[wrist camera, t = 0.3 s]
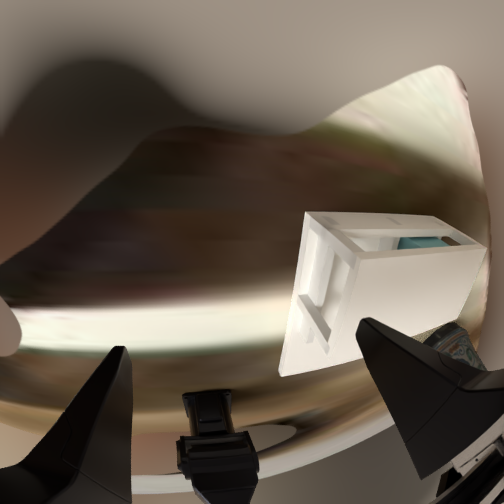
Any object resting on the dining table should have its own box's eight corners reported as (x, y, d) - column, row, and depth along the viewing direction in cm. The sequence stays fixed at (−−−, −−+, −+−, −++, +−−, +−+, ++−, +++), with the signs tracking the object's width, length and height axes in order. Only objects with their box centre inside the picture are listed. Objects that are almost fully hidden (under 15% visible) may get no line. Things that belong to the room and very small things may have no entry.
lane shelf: (386, 344, 37) (416, 384, 29) (278, 369, 33) (301, 426, 25) (433, 216, 28) (487, 248, 20) (305, 211, 23) (361, 259, 16)
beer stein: (455, 343, 48) (512, 410, 26) (394, 394, 49) (444, 472, 28) (460, 305, 40) (537, 386, 18) (385, 369, 41) (453, 472, 20)
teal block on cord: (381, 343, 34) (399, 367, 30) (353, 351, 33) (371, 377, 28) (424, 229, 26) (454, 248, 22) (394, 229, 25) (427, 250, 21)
